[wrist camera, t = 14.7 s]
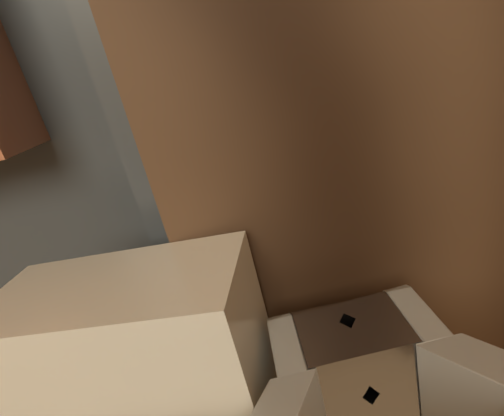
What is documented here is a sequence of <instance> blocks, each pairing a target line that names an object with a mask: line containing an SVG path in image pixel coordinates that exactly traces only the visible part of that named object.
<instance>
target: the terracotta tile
mask: <svg viewBox="0 0 504 416" xmlns="http://www.w3.org/2000/svg"><path fill="white" fill-rule="evenodd" d="M49 140H51V138H50V136H49V134H48V131H47V129H46V126H45V124H44V122H43V119H42V117H41V115H40V112H39V110H38V108H37V105H36V103H35V100H34V98H33V96H32V93H31V91H30V89H29V86H28V84H27V82H26V79H25V77H24V75H23V72H22V70H21V67H20V65H19V63H18V60H17V58H16V56H15V53H14V51H13V49H12V46H11V44H10V41H9V39H8V37H7V34H6V32H5V30H4V27H3V25H2V23H1V20H0V161H2V160H6V159H8V158H10V157H12V156H15V155H17V154H19V153H22V152H24V151H26V150H28V149H31V148H33V147H35V146H38V145H40V144H42V143H44V142H47V141H49Z"/></svg>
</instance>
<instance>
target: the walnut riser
mask: <svg viewBox="0 0 504 416" xmlns="http://www.w3.org/2000/svg"><path fill="white" fill-rule="evenodd" d="M88 2H89V5H90V8H91V11H92V14H93V17H94V20H95V23H96V26H97V29H98V32H99V35H100V38H101V41H102V44H103V47H104V50H105V53H106V56H107V59H108V62H109V65H110V68H111V71H112V74H113V77H114V80H115V83H116V86H117V88H118V91H119V94H120V97H121V100H122V103H123V106H124V109H125V112H126V115H127V118H128V121H129V124H130V127H131V130H132V133H133V136H134V139H135V142H136V145H137V148H138V151H139V154H140V157H141V160H142V163H143V166H144V169H145V172H146V175H147V178H148V181H149V184H150V187H151V190H152V193H153V195H154V198H155V201H156V204H157V207H158V210H159V213H160V216H161V219H162V222H163V225H164V228H165V231H166V234H167V237H168V240H169V243H172V242H178V241H184V240H190V239H196V238H202V237H209V236H215V235H221V234H227V233H233V232H239V231H246V235H247V239H248V243H249V247H250V251H251V254H252V258H253V262H254V266H255V270H256V274H257V278H258V281H259V285H260V289H261V293H262V297H263V301H264V304H265V308H266V312H267V316H268V318H271V317H275V316H279V315H283V314H288V313H290V314H291V312H296V311H301V310H305V309H310V308H314V307H319V306H323V305H328V304H333V303H339V302H343V301H347V300H351V299H355V298H359V297H363V296H367V295H371V294H375V293H379V292H383V291H384V290H387V289H391V288H395V287H398V286H402V285H409V286H411V287H412V288H413V290H414V291H415V292H416V293H417V294H418V295H419V296H420V297H421V298H422V300H423V301H424V302H425V303H426V304H427V305H428V306H429V307H430V309H431V310H432V311H433V312H434V313H435V314H436V315H437V316H438V318H439V319H440V320H441V321H442V322H443V323H444V324H445V325H446V326H447V328H448V329H449V330H450V331H451V332H452V333H453V334H454V335H455V334H460V333H463V334H466V335H468V336H471V337H473V338H476V339H478V340H481V341H484V342H486V343H489V344H491V345H494V346H496V347H499V348H501V349H504V0H88Z"/></svg>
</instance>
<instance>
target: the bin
mask: <svg viewBox="0 0 504 416" xmlns="http://www.w3.org/2000/svg"><path fill="white" fill-rule="evenodd" d="M0 20H1V23H2V25H3V27H4V30H5V32H6V34H7V37H8V39H9V41H10V44H11V46H12V49H13V51H14V53H15V56H16V58H17V60H18V63H19V65H20V67H21V70H22V72H23V75H24V77H25V79H26V82H27V84H28V86H29V89H30V91H31V93H32V96H33V98H34V100H35V103H36V105H37V108H38V110H39V112H40V115H41V117H42V119H43V122H44V124H45V126H46V129H47V131H48V134H49V136H50V138H51V140H49V141H47V142H44V143H42V144H40V145H38V146H35V147H33V148H31V149H28V150H26V151H24V152H22V153H19V154H17V155H15V156H12V157H10V158H8V159H6V160H2V161H0V289H1V288H2V287H3V286H4V285H5V284H7V283H8V282H9V281H10V280H12V279H13V278H14V277H15V276H16V275H18V274H19V273H20V272H21V271H23V270H24V269H25V268H26V267H27V266H30V265H36V264H42V263H48V262H54V261H61V260H67V259H73V258H79V257H85V256H91V255H98V254H104V253H110V252H116V251H122V250H128V249H135V248H141V247H147V246H153V245H159V244H165V243H169V240H168V237H167V234H166V231H165V228H164V225H163V222H162V219H161V216H160V213H159V210H158V207H157V204H156V201H155V198H154V195H153V193H152V190H151V187H150V184H149V181H148V178H147V175H146V172H145V169H144V166H143V163H142V160H141V157H140V154H139V151H138V148H137V145H136V142H135V139H134V136H133V133H132V130H131V127H130V124H129V121H128V118H127V115H126V112H125V109H124V106H123V103H122V100H121V97H120V94H119V91H118V88H117V86H116V83H115V80H114V77H113V74H112V71H111V68H110V65H109V62H108V59H107V56H106V53H105V50H104V47H103V44H102V41H101V38H100V35H99V32H98V29H97V26H96V23H95V20H94V17H93V14H92V11H91V8H90V5H89V2H88V0H0Z"/></svg>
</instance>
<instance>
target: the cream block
mask: <svg viewBox="0 0 504 416" xmlns="http://www.w3.org/2000/svg"><path fill="white" fill-rule="evenodd" d="M267 318H268V316H267V312H266V308H265V304H264V301H263V297H262V293H261V289H260V285H259V281H258V278H257V274H256V270H255V266H254V262H253V258H252V254H251V251H250V247H249V243H248V239H247V235H246V231H239V232H233V233H227V234H221V235H215V236H209V237H202V238H196V239H190V240H184V241H178V242H172V243H165V244H159V245H153V246H147V247H141V248H135V249H128V250H122V251H116V252H110V253H104V254H98V255H91V256H85V257H79V258H73V259H67V260H61V261H54V262H48V263H42V264H36V265H30V266H27V267H26V268H25V269H24V270H23V271H21V272H20V273H19V274H18V275H16V276H15V277H14V278H13V279H12V280H10V281H9V282H8V283H7V284H5V285H4V286H3V287H2V288H1V289H0V416H250V415H251V413H252V411H253V409H254V408H255V406H256V404H257V402H258V400H259V398H260V396H261V395H262V393H263V391H264V389H265V387H266V385H267V383H268V382H269V380H270V379H273V378H277V374H276V369H275V363H274V358H273V353H272V347H271V342H270V336H269V331H268V326H267Z"/></svg>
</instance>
